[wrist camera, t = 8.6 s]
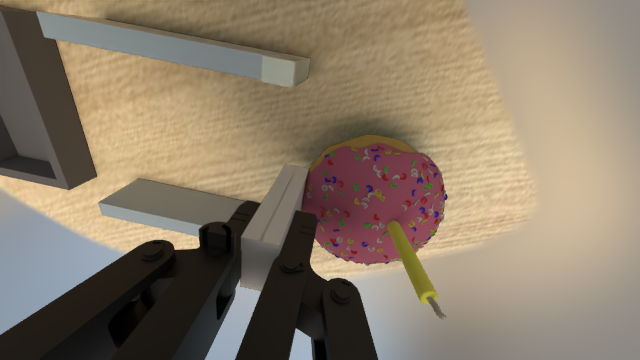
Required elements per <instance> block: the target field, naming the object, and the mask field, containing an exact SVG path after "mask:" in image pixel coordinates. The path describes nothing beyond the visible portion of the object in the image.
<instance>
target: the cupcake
mask: <svg viewBox="0 0 640 360" xmlns="http://www.w3.org/2000/svg"><path fill="white" fill-rule="evenodd" d="M445 193H446V191H445V190H444V183H443V179H442V172H441V171H440V170H439V169H438V167H437V166H436V164H435V163H434V162H433V161H432V160H431V159H430V158H429V157H428V156H426V155H425V154H423V153H419V152H417V151H416V150H415V149H413V148H412V147H411V146H409V145H408V144H406V143H404V142H402V141H400V140H397V139H392V138H387V137H383V136H378V135H364V136H360V137H356V138H353V139H350V140H347V141H345V142H342V143H339V144H335V145H332V146H330V147H328V148H327V149H326V150H325V151H324V152H323V153H322V154H321V155H320V156H319V158H318V159H317V160H316V161H315V162H314V163H313V164H312V165H311V166H310V168H309V172H308V176H307V180H306V185H305V190H304V195H303V201H302V211H303V212H307V213H312V214H315V215H316V217H317V220H318V224H317V229H316V234H315V239H316V240H317V241H318V242H319V244H320V245H321V247H322V248H325V250H328V252H329V253H332V254H333V255H334V254H335V256H336V255H337V256H336V257H337V258H339V257H340V258H342V259H344V260H345V261H353V262H355V263H356V264H357V263H361V264H363V263H364V264H365V265H367V266H369V264H375V263H385V264H387V263H389V262H392V261H396V260H397V261H402V262H403V264H404V267H405V269H406V271H407V273H408V275H409V278H410V280H411V282H412V284H413V286H414V289H415V291H416V293H417V295H418V297H419V300H420V301H421V302H422V303H424V304H431V306H432V307H433V309H434V311H435V313H436V315H437V316H438V317H439V318H441V319H442V320H445V319H446V316H445V315H444V314H443V313H442V312H441V310H440V308H439V306H438V304H437V303H436V302H435V301H436V299H437V293H436V291H435V289H434V287H433V285H432V284H431V282H430V280H429V278H428V276H427V274H426V273H425V271H424V269H423V267H422V265H421V263H420V261H419V259H418V258H417V256H416V254H415V253H416V252H418V250H419V249H418V248H423V247H424V246H422V245H423V244H427V242H428V240H429V239H430V238H431V237H432V236H434V235H435V233H436V231H437V229H438V227H439V223H440V222H442V221H443V220H444V216H445V215H444V214H443V212H444V204H445V200H446V199H447V194H445ZM445 195H446V197H445ZM442 215H443V216H442ZM442 218H443V219H442Z"/></svg>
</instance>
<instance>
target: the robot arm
mask: <svg viewBox="0 0 640 360" xmlns="http://www.w3.org/2000/svg"><path fill="white" fill-rule="evenodd" d="M308 172H309V169H308V168H303V167H298V166H293V165H288V164H285V165H284V167H283V169H282V170H281V172H280V174H279V175H278V177H277V179H276V180H275V182H274V184H273V185H272V187H271V188H270V190H269V192H268V193H267V195H266V197H265V198H264V200H263V202H262V203H257V202H253V201H246V202H244V203H242V204H241V205H239V207H238V208H237V209H236V211H235V212H234V213H233V215H232V216H231V218H230V219H229V220H228V221H227V223H226V222H219V221H217V222H210V223H208V224H205V225H203V226H202V227H201V228H199V229H198V230H199V242H200V247H199V248H197V249H185V250H174V246H173V244H172V243H170V242H169V241H165V240H153V241H149V242H146V243H144V244H142V245H140V246H138V247H136V248H135V249H133V250H132V251H130V252H129V253H127V254H125V255H124V256H122V257H121V258H119V259H118V260H116V261H115V262H113V263H111V264H110V265H109V266H107V267H105V268H104V269H102V270H101V271H99V272H97V273H96V274H95V275H93V276H92V277H90V278H88V279H87V280H85V281H84V282H82V283H80V284H79V285H77V286H76V287H74V288H73V289H71V290H69V291H68V292H66V293H65V294H63V295H62V296H60V297H59V298H57V299H55V300H54V301H52V302H51V303H49V304H48V305H46V306H45V307H43V308H42V309H40V310H39V311H37V312H35V313H34V314H32V315H31V316H29V317H28V318H26V319H24V320H23V321H21V322H20V323H18V324H17V325H15V326H13V327H12V328H10V329H9V330H7V331H6V332H4V333H3V334H1V335H0V360H204V359H205V357H206V356H207V354H208V352H209V349H210V347H211V345H212V343H213V341H214V339H215V337H216V335H217V333H218V331H219V329H220V327H221V325H222V323H223V321H224V319H225V316H226V314H227V312H228V310H229V308H230V306H231V304H232V302H233V300H234V297H235V288H236V286H237V284H238V282H239V280H240V287H245V288H249V289H254V290H258V291H261V294H260V297H259V300H258V302H257V304H256V307H255V310H254V312H253V315H252V317H251V320H250V322H249V325H248V327H247V330H246V333H245V335H244V338H243V340H242V343H241V346H240V348H239V351H238V353H237V356H236V359H235V360H289V357H290V352H291V347H292V343H293V338H294V333H295V329H296V328H297V329H299V330H300V331H302V332H303V333H305V334H306V335H308V336H309V337H311V344H312V357H313V360H378V357H377V353H376V350H375V346H374V343H373V339H372V336H371V332H370V328H369V325H368V322H367V318H366V314H365V311H364V307H363V304H362V300H361V296H360V293H359V291H358V289H357V288H356V287H355V286H354V285H353V284H352V283H351V282H350V281H348V280H346V279H342V278H334V279H331V280H329V281H327V280H325V279H323V278H321V277H320V276H318V275H317V274H316V273H315V272H314V271H313V269H312V268H311V265H310V257H311V253H312V248H313V243H314V238H315V234H316V229H317V224H318V220H317V217H316V215H315V214H312V213H307V212H303V211H302V201H303V195H304V190H305V185H306V180H307V176H308Z"/></svg>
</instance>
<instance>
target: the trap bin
mask: <svg viewBox="0 0 640 360" xmlns="http://www.w3.org/2000/svg"><path fill="white" fill-rule="evenodd" d="M0 175H3V176H8V177H12V178H17V179H21V180H26V181H30V182H35V183H39V184H44V185H49V186H53V187H58V188H62V189H67V190H71V189H73V188H75V187H77V186H79V185H81V184H83V183H85V182H87V181H89V180H91V179H93V178H95V177H97V175H96V172H95V169H94V165H93V162H92V159H91V156H90V152H89V149H88V146H87V143H86V139H85V136H84V133H83V130H82V126H81V123H80V120H79V117H78V113H77V110H76V107H75V104H74V101H73V97H72V94H71V91H70V88H69V84H68V81H67V78H66V75H65V71H64V68H63V65H62V62H61V58H60V55H59V52H58V49H57V45H56V42H55V39H51V38H46V37H44V35H43V32H42V29H41V25H40V22H39V19H38V16H37V13H35V12H30V11H25V10H20V9H15V8H9V7H4V6H0Z"/></svg>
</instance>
